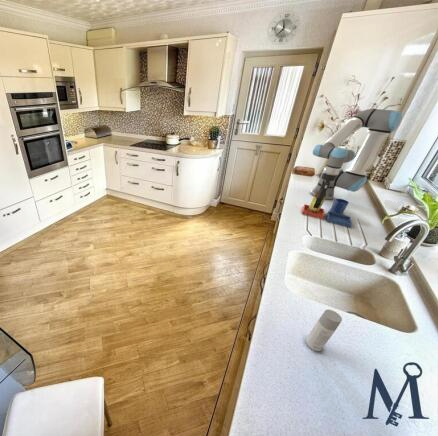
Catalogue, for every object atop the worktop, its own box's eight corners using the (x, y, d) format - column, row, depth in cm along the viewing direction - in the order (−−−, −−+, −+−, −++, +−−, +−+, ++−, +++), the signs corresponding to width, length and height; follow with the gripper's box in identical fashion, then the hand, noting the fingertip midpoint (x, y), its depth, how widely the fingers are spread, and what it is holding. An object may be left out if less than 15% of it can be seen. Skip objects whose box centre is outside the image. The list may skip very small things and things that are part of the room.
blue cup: (329, 208, 168) (335, 197, 163) (342, 211, 164) (348, 200, 160) (329, 212, 162) (335, 201, 158) (343, 216, 159) (349, 204, 154)
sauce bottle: (316, 214, 157) (329, 187, 146) (306, 210, 161) (318, 184, 150) (319, 211, 160) (332, 184, 150) (309, 207, 164) (321, 181, 154)
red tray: (302, 207, 168) (304, 204, 167) (322, 212, 163) (324, 209, 161) (301, 213, 160) (303, 210, 158) (322, 219, 154) (324, 216, 153)
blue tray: (326, 214, 160) (328, 211, 159) (348, 219, 155) (350, 216, 153) (326, 221, 151) (328, 218, 150) (349, 227, 146) (351, 224, 144)
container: (304, 336, 80) (322, 307, 73) (319, 341, 79) (340, 312, 71) (306, 348, 77) (326, 319, 69) (322, 354, 75) (344, 324, 68)
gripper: (323, 168, 155) (309, 199, 167) (323, 176, 141) (308, 209, 153) (337, 170, 152) (322, 202, 164) (338, 179, 138) (321, 213, 150)
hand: (315, 205), depth 158 cm, fingers closed on sauce bottle, 6 cm apart
